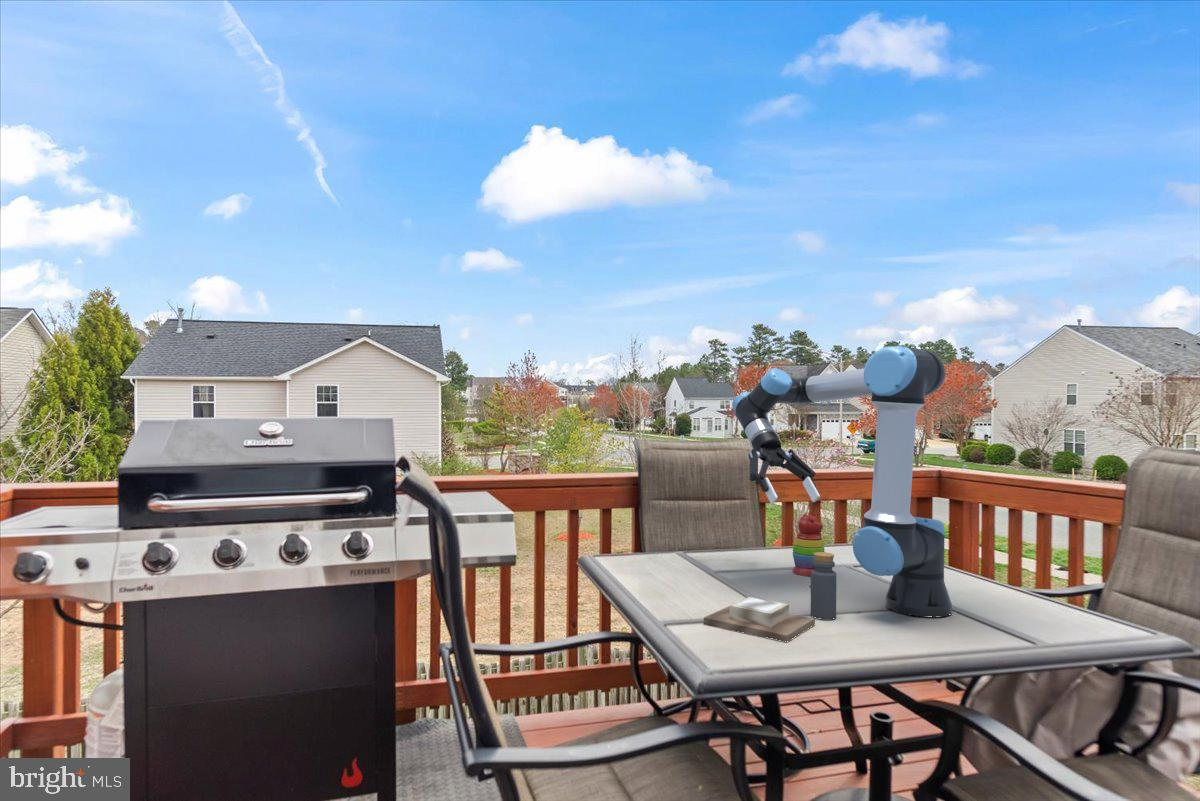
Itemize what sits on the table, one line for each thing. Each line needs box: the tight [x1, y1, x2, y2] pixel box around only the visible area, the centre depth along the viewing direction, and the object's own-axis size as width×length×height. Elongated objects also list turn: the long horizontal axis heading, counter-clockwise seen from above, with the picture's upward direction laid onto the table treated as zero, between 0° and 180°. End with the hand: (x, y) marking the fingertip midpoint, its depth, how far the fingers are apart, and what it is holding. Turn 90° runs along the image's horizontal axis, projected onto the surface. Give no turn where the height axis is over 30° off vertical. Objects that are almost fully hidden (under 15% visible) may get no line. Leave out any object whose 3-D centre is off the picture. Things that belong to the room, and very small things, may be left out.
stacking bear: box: [792, 513, 825, 577], centre depth 213 cm, size 11×10×18 cm
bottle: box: [810, 552, 837, 620], centre depth 167 cm, size 6×6×15 cm
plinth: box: [703, 596, 816, 643], centre depth 160 cm, size 20×16×5 cm
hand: (795, 500), depth 183 cm, fingers open, 13 cm apart
